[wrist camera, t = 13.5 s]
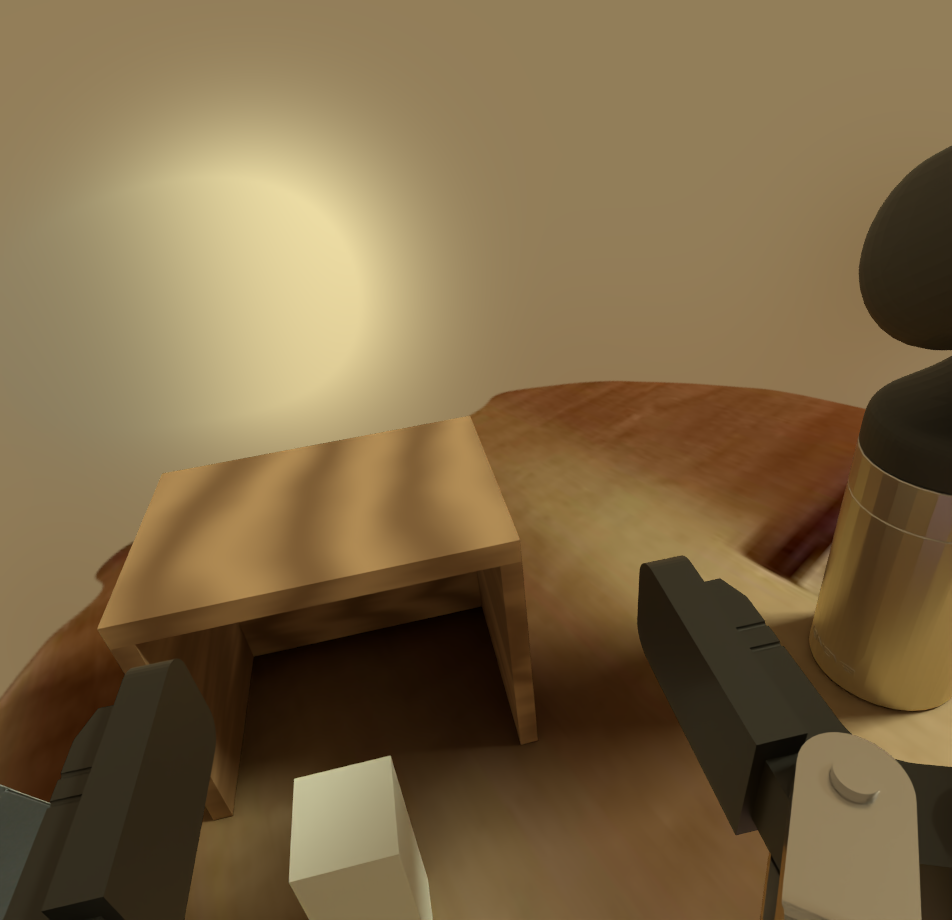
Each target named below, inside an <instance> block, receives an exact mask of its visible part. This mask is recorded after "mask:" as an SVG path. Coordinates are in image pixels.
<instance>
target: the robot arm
mask: <svg viewBox="0 0 952 920" xmlns="http://www.w3.org/2000/svg"><path fill="white" fill-rule="evenodd" d="M859 282H860V290H861V294H862V297H863V300H864V304H865V306H866V308H867V310H868V312H869V314H870V315H871V317H872V318H873V319H874V321H875V322H876V323H877V324H878V326H879V327H880V328H881V329H882V330H884V331H885V332H886V333H887V334H889V335H890V336H891V337H893V338H895V339H897V340H899V341H901V342H903V343H905V344H907V345H911V346H916V347H920V348H925V349H931V350H952V146H950V147H948V148H946V149H945V150H943V151H941V152H939V153H937V154H935V155H934V156H932V157H930V158H929V159H927V160H925V161H924V162H922V163H921V164H920V165H918V166H917V167H916V168H915V169H913V170H912V171H911V172H910V173H909V174H908V175H906V177H905V178H904V179H903V180H902V181H901V182H900V183H899V184H898V185H897V186H896V187H895V188H894V190H893V191H892V192H891V193H890V195H889V196H888V198H887V199H886V200H885V202H884V203H883V205H882V206H881V208H880V209H879V211H878V213H877V215H876V217H875V219H874V221H873V222H872V224H871V227H870V229H869V231H868V234H867V236H866V239H865V242H864V245H863V250H862V253H861V259H860V265H859ZM637 625H638V633H639V637H640V641H641V645H642V648H643V651H644V653H645V656H646V658H647V660H648V662H649V664H650V666H651V668H652V670H653V672H654V674H655V676H656V678H657V680H658V682H659V684H660V686H661V688H662V690H663V692H664V694H665V696H666V698H667V700H668V702H669V704H670V705H671V707H672V709H673V711H674V713H675V715H676V717H677V719H678V721H679V723H680V725H681V727H682V729H683V731H684V733H685V735H686V737H687V739H688V741H689V743H690V745H691V747H692V749H693V751H694V753H695V755H696V757H697V759H698V761H699V763H700V765H701V767H702V769H703V771H704V773H705V775H706V777H707V779H708V781H709V783H710V785H711V787H712V789H713V791H714V793H715V795H716V797H717V799H718V801H719V803H720V805H721V807H722V809H723V811H724V813H725V815H726V817H727V819H728V821H729V823H730V825H731V827H732V829H733V831H734V833H735V835H739V834H743V833H747V832H751V831H755V830H758V831H759V833H760V835H761V837H762V839H763V840H764V842H765V844H766V846H767V848H768V850H769V856H768V861H767V869H766V876H765V884H764V892H763V899H762V907H761V915H760V920H952V767H945V766H935V765H924V764H915V763H908V762H904V761H900V760H897V759H894V758H893V757H892V756H891V755H889V754H888V753H887V752H886V751H885V750H883V749H882V748H880V747H879V746H877V745H876V744H874V743H872V742H870V741H868V740H866V739H863V738H861V737H858V736H855V735H852V734H851V733H850V732H849V731H848V730H847V729H846V728H845V727H844V726H843V725H842V723H841V722H840V721H839V720H838V718H837V717H836V716H835V714H834V713H833V712H832V710H831V709H830V708H829V706H828V705H827V704H826V702H825V701H824V700H823V698H822V697H821V696H820V694H819V693H818V692H817V690H816V689H815V688H814V686H813V685H812V684H811V682H810V681H809V680H808V678H807V677H806V676H805V674H804V673H803V671H802V670H801V669H800V667H799V666H798V665H797V663H796V662H795V661H794V659H793V658H792V657H791V655H790V654H789V653H788V651H787V650H786V649H785V647H784V646H781V645H780V641H779V639H778V638H777V637H776V635H775V634H774V633H773V631H772V630H771V629H770V627H769V626H766V624H765V620H764V619H763V618H762V616H761V615H760V614H759V612H758V611H757V610H756V608H755V607H754V606H753V604H752V603H751V602H750V600H749V599H748V598H747V597H746V596H745V595H743V594H742V593H741V592H739V591H738V590H736V589H735V588H733V587H732V586H730V585H729V584H728V583H726V582H725V581H723V580H722V579H715V580H710V581H706V582H704V581H703V579H702V578H701V576H700V575H699V573H698V572H697V570H696V569H695V568H694V566H693V565H692V563H691V562H690V561H689V559H688V558H687V557H685V556H677V557H672V558H668V559H663V560H658V561H653V562H648V563H643V564H642V565H641V567H640V573H639V595H638V617H637ZM809 644H810V649H811V652H812V654H813V657H814V659H815V660H816V662H817V663H818V665H819V666H820V668H821V669H822V670H823V671H824V672H825V673H826V674H827V675H828V676H829V677H830V678H831V679H832V680H833V681H834V682H835V683H837V684H838V685H839V686H841V687H842V688H843V689H845V690H846V691H848V692H850V693H852V694H854V695H855V696H857V697H859V698H861V699H864V700H866V701H868V702H871V703H873V704H876V705H880V706H884V707H887V708H891V709H898V710H907V711H915V710H927V709H931V708H934V707H938V706H940V705H942V704H944V703H945V702H947V701H949V700H950V699H951V697H952V356H951V357H949V358H947V359H945V360H943V361H942V362H939V363H937V364H935V365H933V366H930V367H928V368H925V369H923V370H920V371H918V372H915V373H913V374H910V375H907V376H904V377H902V378H900V379H897V380H895V381H893V382H891V383H889V384H887V385H886V386H884V387H883V388H881V389H880V390H879V391H878V392H877V393H876V394H875V395H874V396H873V397H872V398H871V400H870V402H869V404H868V406H867V408H866V411H865V414H864V417H863V421H862V425H861V429H860V433H859V437H858V441H857V445H856V449H855V453H854V457H853V461H852V465H851V469H850V473H849V477H848V482H847V486H846V490H845V494H844V498H843V502H842V506H841V510H840V514H839V518H838V522H837V526H836V530H835V534H834V538H833V542H832V546H831V550H830V554H829V557H828V561H827V565H826V569H825V573H824V577H823V581H822V585H821V589H820V593H819V597H818V601H817V605H816V609H815V614H814V618H813V622H812V626H811V630H810V635H809ZM215 748H216V730H215V723H214V719H213V716H212V713H211V711H210V709H209V707H208V705H207V703H206V702H205V700H204V698H203V696H202V694H201V692H200V691H199V689H198V687H197V685H196V683H195V682H194V680H193V678H192V676H191V674H190V672H189V671H188V669H187V667H186V665H185V664H184V662H183V661H182V660H180V659H173V660H168V661H163V662H158V663H153V664H148V665H144V666H139V667H134V668H131V669H129V670H128V671H127V672H126V674H125V676H124V678H123V680H122V683H121V686H120V689H119V692H118V695H117V697H116V700H115V703H114V705H112V706H107V707H102V708H98V710H97V711H96V712H95V713H94V715H93V716H92V717H91V718H90V720H89V721H88V722H87V724H86V725H85V726H84V727H83V729H82V730H81V731H80V733H79V734H78V735H77V736H76V738H75V739H74V741H73V743H72V746H71V748H70V751H69V753H68V756H67V759H66V761H65V764H64V766H63V769H62V771H61V779H60V780H58V781H57V784H56V787H55V789H54V792H53V794H52V797H51V799H50V803H51V805H50V808H47V809H46V812H45V815H44V817H43V820H42V822H41V825H40V827H39V830H38V832H37V835H36V837H35V840H34V842H33V845H32V848H31V850H30V853H29V855H28V858H27V860H26V863H25V865H24V868H23V870H22V873H21V876H20V878H19V881H18V883H17V886H16V888H15V891H14V893H13V896H12V898H11V901H10V904H9V906H8V909H7V911H6V914H5V916H4V918H3V920H184V917H185V912H186V906H187V901H188V896H189V890H190V885H191V879H192V874H193V868H194V863H195V857H196V852H197V847H198V841H199V836H200V830H201V825H202V819H203V814H204V809H205V803H206V798H207V792H208V787H209V781H210V776H211V771H212V765H213V760H214V754H215Z"/></svg>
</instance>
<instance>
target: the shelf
mask: <svg viewBox="0 0 952 920" xmlns="http://www.w3.org/2000/svg"><path fill="white" fill-rule="evenodd" d="M481 606H482V609H483V613H484V616H485V620H486V623H487V627H488V630H489V634H490V637H491V641H492V645H493V648H494V652H495V655H496V659H497V662H498V666H499V669H500V673H501V676H502V680H503V684H504V687H505V691H506V694H507V698H508V701H509V705H510V708H511V712H512V715H513V719H514V723H515V726H516V730H517V733H518V737H519V740H520V744H521V745H522V744H526V743H530V742H534V741H538V734H537V723H536V712H535V701H534V690H533V678H532V667H531V656H530V645H529V634H528V623H527V612H526V600H525V589H524V578H523V567H522V556H521V545H520V539H519V536H518V534H517V531H516V529H515V526H514V524H513V521H512V519H511V516H510V514H509V511H508V509H507V506H506V504H505V501H504V499H503V496H502V494H501V491H500V489H499V486H498V484H497V482H496V479H495V477H494V474H493V472H492V469H491V467H490V464H489V462H488V459H487V457H486V454H485V452H484V449H483V447H482V444H481V442H480V439H479V437H478V434H477V432H476V429H475V427H474V425H473V422H472V420H471V417H470V416H466V417H461V418H456V419H450V420H445V421H440V422H434V423H430V424H424V425H419V426H413V427H408V428H403V429H397V430H392V431H386V432H381V433H376V434H370V435H365V436H361V437H355V438H350V439H344V440H339V441H333V442H328V443H323V444H318V445H312V446H307V447H301V448H296V449H291V450H285V451H280V452H275V453H269V454H264V455H259V456H254V457H249V458H243V459H238V460H232V461H227V462H222V463H216V464H211V465H206V466H201V467H195V468H190V469H184V470H179V471H174V472H168V473H163V474H162V475H161V478H160V480H159V483H158V485H157V488H156V490H155V492H154V495H153V497H152V499H151V502H150V504H149V507H148V509H147V511H146V514H145V516H144V518H143V521H142V523H141V526H140V528H139V531H138V533H137V535H136V538H135V540H134V542H133V545H132V547H131V550H130V552H129V554H128V557H127V559H126V562H125V564H124V566H123V569H122V571H121V574H120V576H119V578H118V581H117V583H116V585H115V588H114V590H113V593H112V595H111V597H110V600H109V602H108V605H107V607H106V609H105V612H104V614H103V617H102V619H101V621H100V624H99V626H98V631H99V633H100V634H101V636H102V638H103V639H104V641H105V643H106V644H107V646H108V648H109V649H110V651H111V652H112V654H113V656H114V657H115V659H116V661H117V662H118V664H119V666H120V667H121V669H122V671H123V672H124V674H126V672H127V671H128V670H129V669H131V668H134V667H139V666H144V665H148V664H153V663H158V662H163V661H168V660H173V659H180V660H182V661H183V662H184V664H185V665H186V667H187V669H188V671H189V672H190V674H191V676H192V678H193V680H194V682H195V683H196V685H197V687H198V689H199V691H200V692H201V694H202V696H203V698H204V700H205V702H206V703H207V705H208V707H209V709H210V711H211V713H212V716H213V719H214V723H215V730H216V748H215V754H214V760H213V765H212V771H211V776H210V781H209V787H208V792H207V798H206V803H205V807H206V809H207V810H208V812H209V813H210V815H211V817H212V818H213V820H217V819H221V818H225V817H229V816H233V810H234V803H235V795H236V788H237V780H238V772H239V765H240V757H241V750H242V742H243V734H244V727H245V719H246V711H247V704H248V696H249V689H250V681H251V673H252V666H253V658H254V657H255V656H259V655H264V654H268V653H273V652H277V651H282V650H286V649H291V648H295V647H300V646H304V645H309V644H313V643H318V642H323V641H327V640H332V639H336V638H341V637H345V636H350V635H354V634H359V633H363V632H368V631H372V630H377V629H381V628H386V627H390V626H395V625H400V624H404V623H409V622H413V621H418V620H422V619H427V618H431V617H436V616H440V615H445V614H449V613H454V612H458V611H463V610H467V609H472V608H476V607H481Z"/></svg>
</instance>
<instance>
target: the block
mask: <svg viewBox="0 0 952 920" xmlns="http://www.w3.org/2000/svg"><path fill="white" fill-rule="evenodd" d="M289 884H290V886H291V888H292V889H293V891H294V893H295V895H296V897H297V899H298V900H299V902H300V904H301V906H302V908H303V910H304V912H305V913H306V915H307V917H308V919H309V920H433V918H432V910H431V902H430V893H429V885H428V878H427V875H426V872H425V868H424V865H423V862H422V858H421V855H420V852H419V849H418V845H417V842H416V839H415V835H414V832H413V829H412V825H411V822H410V819H409V815H408V812H407V809H406V805H405V802H404V799H403V795H402V792H401V789H400V785H399V782H398V779H397V775H396V772H395V769H394V765H393V762H392V759H391V756H386V757H382V758H378V759H374V760H370V761H366V762H362V763H357V764H353V765H349V766H345V767H341V768H337V769H333V770H328V771H324V772H320V773H316V774H312V775H308V776H304V777H299V778H295V779H294V792H293V811H292V830H291V849H290V868H289Z"/></svg>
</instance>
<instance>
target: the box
mask: <svg viewBox="0 0 952 920" xmlns="http://www.w3.org/2000/svg"><path fill="white" fill-rule="evenodd" d="M50 805H51V803H49V802H46V801H43V800H40V799H38V798H35V797H32V796H29V795H27V794H24V793H21V792H18V791H16V790H13V789H11V788H8V787H6V786H3V785H0V920H3V918H4V916H5V914H6V911H7V909H8V906H9V904H10V901H11V898H12V896H13V893H14V891H15V888H16V886H17V883H18V881H19V878H20V876H21V873H22V870H23V868H24V865H25V863H26V860H27V858H28V855H29V853H30V850H31V848H32V845H33V842H34V840H35V837H36V835H37V832H38V830H39V827H40V825H41V822H42V820H43V817H44V815H45V812H46V809H47V808H50ZM184 920H185V918H184Z"/></svg>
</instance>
